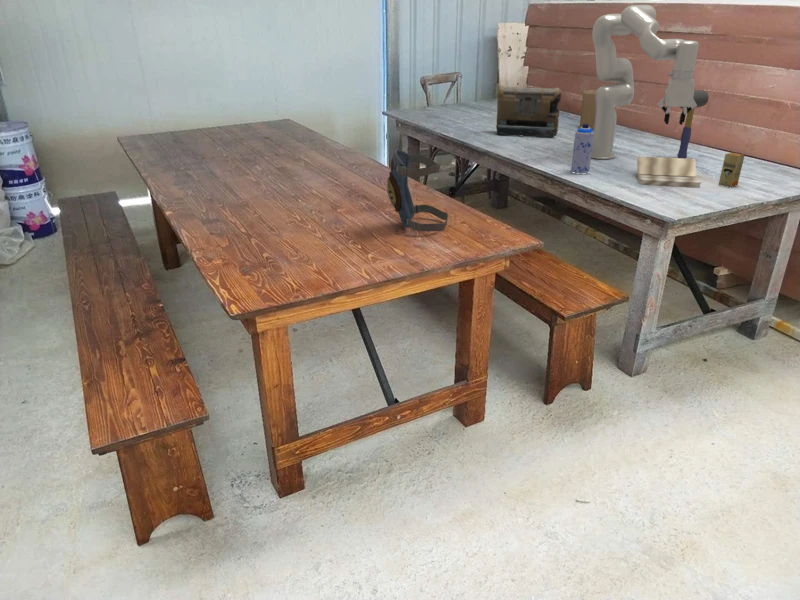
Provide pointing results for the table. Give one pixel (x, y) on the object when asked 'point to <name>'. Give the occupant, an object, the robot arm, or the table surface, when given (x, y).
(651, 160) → the pale ash plank
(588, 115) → the wooden block
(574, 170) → the aerosol can
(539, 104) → the brown boxy block
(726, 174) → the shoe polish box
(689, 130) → the rubber mallet
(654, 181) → the streaked tan wood board
